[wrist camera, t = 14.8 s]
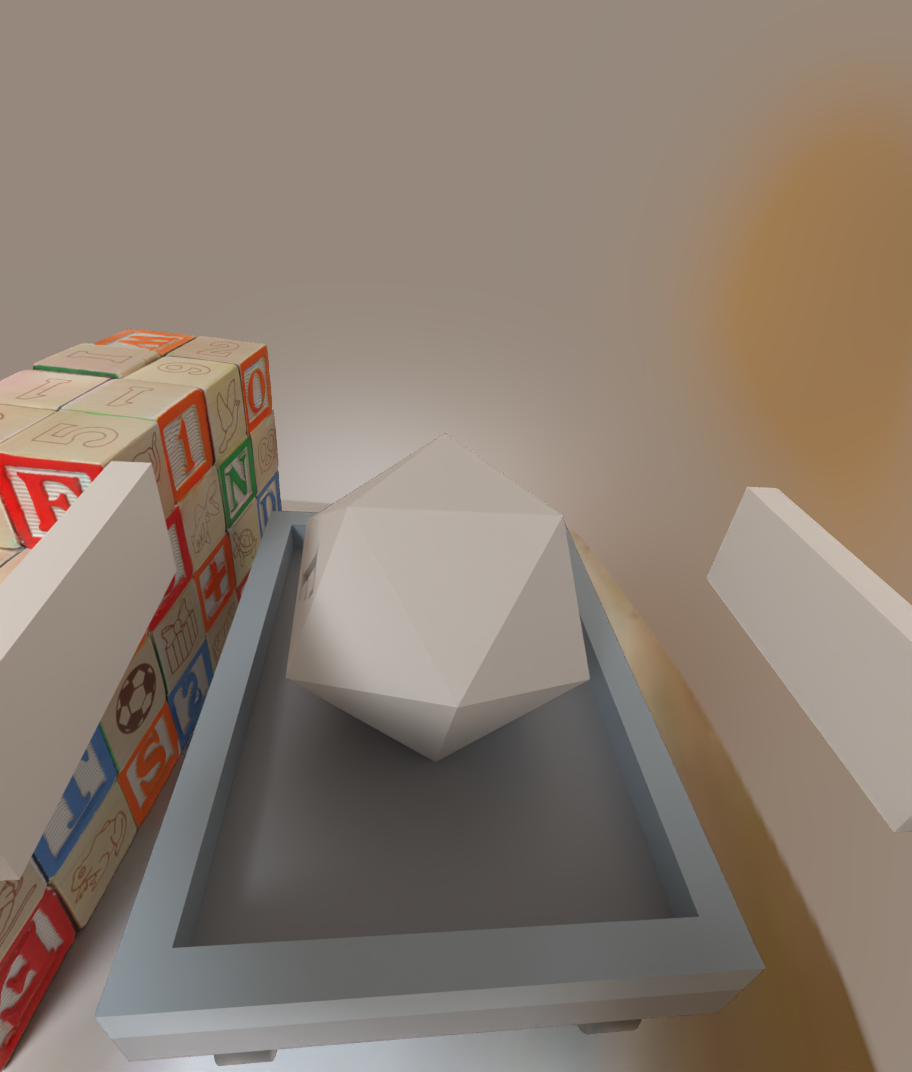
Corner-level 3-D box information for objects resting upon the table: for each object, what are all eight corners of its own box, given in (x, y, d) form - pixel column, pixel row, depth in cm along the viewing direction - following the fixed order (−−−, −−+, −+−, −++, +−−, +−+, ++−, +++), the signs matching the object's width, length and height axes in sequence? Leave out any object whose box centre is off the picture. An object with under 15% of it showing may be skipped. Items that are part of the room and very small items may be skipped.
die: (396, 581, 24) (233, 437, 16) (596, 525, 21) (508, 323, 14) (392, 788, 19) (162, 718, 12) (648, 753, 16) (557, 632, 9)
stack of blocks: (7, 1086, 13) (-365, 810, 7) (-248, 1054, 13) (-885, 744, 7) (289, 561, 31) (269, 338, 24) (179, 548, 31) (127, 321, 24)
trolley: (162, 1104, 13) (94, 1017, 10) (282, 617, 27) (271, 510, 24) (671, 1056, 15) (765, 968, 12) (539, 620, 29) (564, 521, 25)
